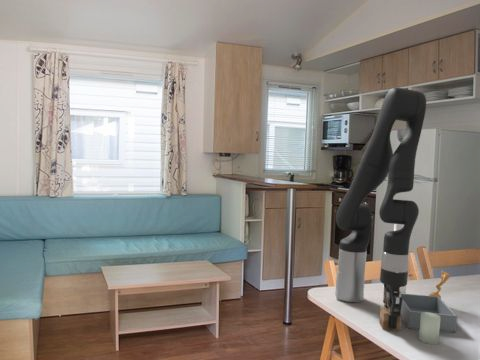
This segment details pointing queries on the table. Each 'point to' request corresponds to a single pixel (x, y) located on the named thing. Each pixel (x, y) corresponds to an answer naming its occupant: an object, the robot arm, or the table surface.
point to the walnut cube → (385, 318)
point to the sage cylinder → (429, 328)
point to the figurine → (440, 284)
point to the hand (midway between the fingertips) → (390, 323)
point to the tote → (423, 303)
